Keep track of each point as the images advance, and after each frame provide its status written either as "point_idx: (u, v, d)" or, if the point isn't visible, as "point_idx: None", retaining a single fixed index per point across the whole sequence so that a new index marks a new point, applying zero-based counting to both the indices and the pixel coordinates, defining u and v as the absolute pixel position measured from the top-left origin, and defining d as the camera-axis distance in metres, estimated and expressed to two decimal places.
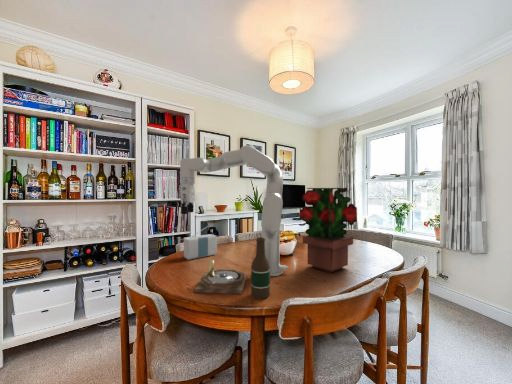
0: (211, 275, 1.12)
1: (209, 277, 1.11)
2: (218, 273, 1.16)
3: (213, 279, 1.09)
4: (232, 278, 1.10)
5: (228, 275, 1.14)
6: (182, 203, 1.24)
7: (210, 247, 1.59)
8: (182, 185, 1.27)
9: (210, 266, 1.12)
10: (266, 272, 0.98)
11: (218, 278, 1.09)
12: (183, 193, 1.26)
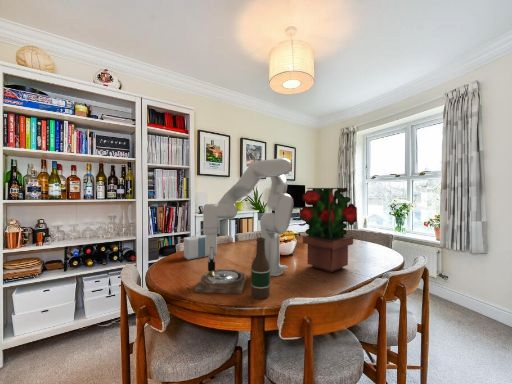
0: (211, 275, 1.12)
1: (209, 277, 1.11)
2: (218, 273, 1.16)
3: (213, 279, 1.09)
4: (232, 278, 1.10)
5: (228, 275, 1.14)
6: None
7: None
8: None
9: None
10: (266, 272, 0.98)
11: (218, 278, 1.09)
12: None
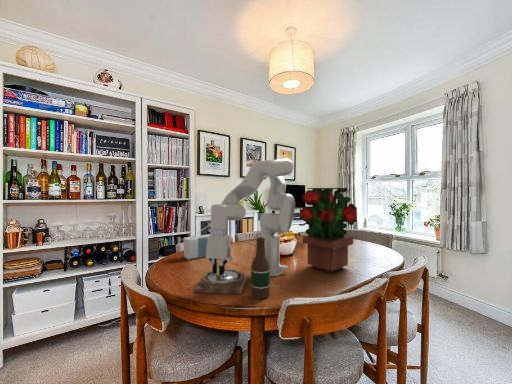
0: (221, 279, 1.08)
1: (223, 281, 1.07)
2: (214, 277, 1.11)
3: (230, 279, 1.09)
4: (232, 272, 1.17)
5: (223, 274, 1.15)
6: None
7: None
8: None
9: None
10: (266, 272, 0.98)
11: (229, 277, 1.11)
12: None
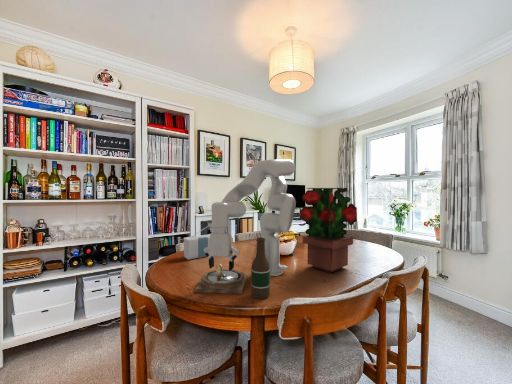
0: (221, 279, 1.08)
1: (224, 280, 1.07)
2: (214, 277, 1.11)
3: (230, 279, 1.09)
4: (231, 272, 1.17)
5: (223, 274, 1.15)
6: None
7: None
8: None
9: (221, 270, 1.07)
10: (266, 272, 0.98)
11: (230, 277, 1.11)
12: None
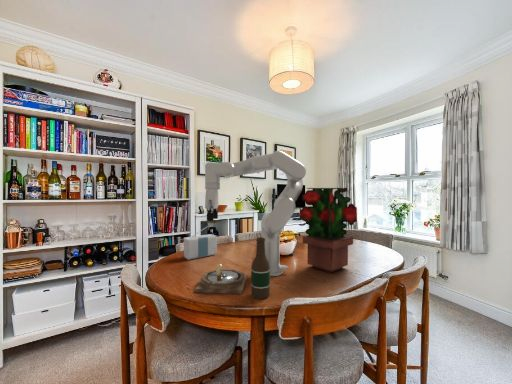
0: (221, 279, 1.08)
1: (224, 280, 1.07)
2: (214, 277, 1.11)
3: (230, 279, 1.09)
4: (231, 272, 1.17)
5: (223, 274, 1.15)
6: None
7: (210, 247, 1.59)
8: None
9: (221, 270, 1.07)
10: (266, 272, 0.98)
11: (230, 277, 1.11)
12: None
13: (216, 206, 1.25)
